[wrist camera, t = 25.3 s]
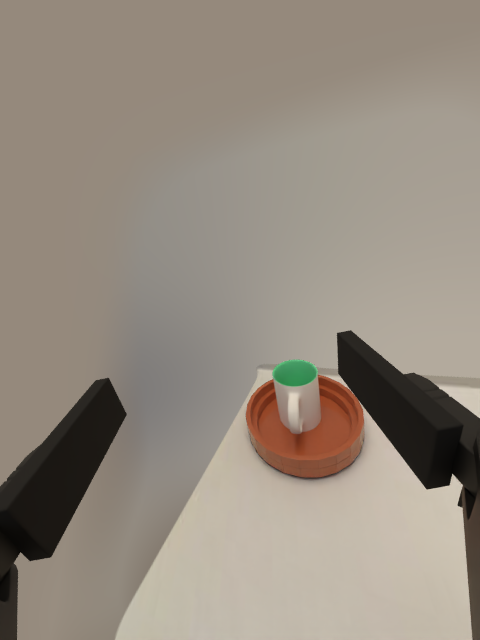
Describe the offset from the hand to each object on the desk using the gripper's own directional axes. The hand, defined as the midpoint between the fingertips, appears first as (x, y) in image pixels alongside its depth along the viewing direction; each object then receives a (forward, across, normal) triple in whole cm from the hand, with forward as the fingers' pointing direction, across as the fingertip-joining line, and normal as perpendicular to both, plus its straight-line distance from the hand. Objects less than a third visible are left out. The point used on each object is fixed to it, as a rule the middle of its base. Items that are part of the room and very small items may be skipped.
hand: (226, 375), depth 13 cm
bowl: (+22, +9, -30) cm, 38 cm away
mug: (+22, +8, -29) cm, 38 cm away
